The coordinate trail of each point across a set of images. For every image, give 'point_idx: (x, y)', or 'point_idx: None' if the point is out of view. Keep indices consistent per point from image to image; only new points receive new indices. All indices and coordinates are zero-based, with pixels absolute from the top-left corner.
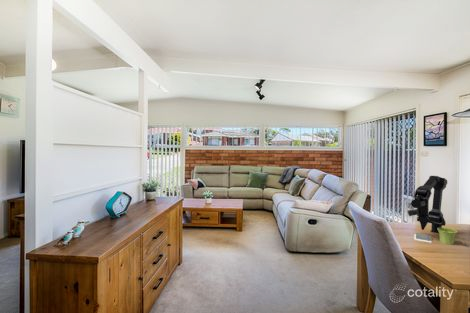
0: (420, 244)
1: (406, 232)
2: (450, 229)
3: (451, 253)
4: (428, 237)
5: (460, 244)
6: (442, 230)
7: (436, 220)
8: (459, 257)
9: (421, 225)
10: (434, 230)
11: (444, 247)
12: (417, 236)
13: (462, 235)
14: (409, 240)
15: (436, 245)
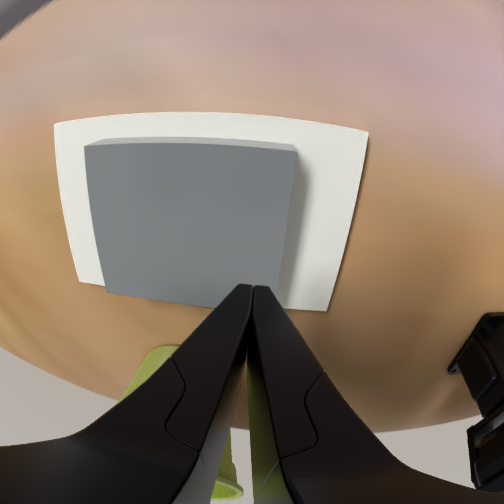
0: (4, 187)
1: (426, 50)
2: (226, 495)
3: (16, 330)
4: (139, 289)
5: (235, 418)
6: (225, 461)
7: (497, 450)
8: (4, 339)
9: (177, 359)
10: (479, 351)
11: (76, 334)
12: (87, 165)
13: (436, 420)
14: (40, 84)
15: (72, 299)
